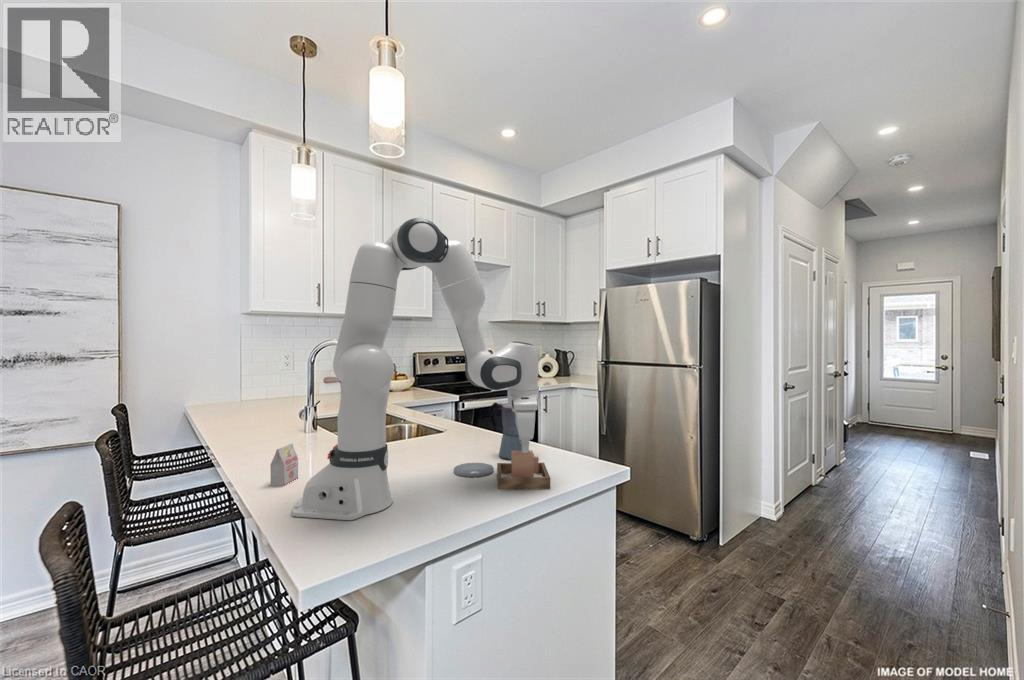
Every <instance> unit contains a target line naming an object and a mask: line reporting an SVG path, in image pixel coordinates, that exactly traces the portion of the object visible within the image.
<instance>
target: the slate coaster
mask: <svg viewBox="0 0 1024 680" xmlns="http://www.w3.org/2000/svg"><path fill="white" fill-rule="evenodd" d="M494 470H495V468H494V466H493V465H492V464H489V463H485V462H467V463H460V464H459V465H456V466H454V467H453V474H454V475H456V476H458V477H460V478H461V477H462V478H467V477H470V478H471V479H472V478H473V479H475V478H474V477H477V478H484V477H487V475H488V476H490V475H492V474H493V473H494V472H495V471H494ZM483 476H484V477H483Z"/></svg>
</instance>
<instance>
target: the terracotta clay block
mask: <svg viewBox="0 0 1024 680" xmlns="http://www.w3.org/2000/svg"><path fill="white" fill-rule="evenodd" d="M510 461H511V462H510V463H511V474H510V475H511V476H510V477H535V476H534V473H538V463H539V456H535V454H534V452H533V450H532V449H531V450H530V449H529V452H528V453H522V451H511V460H510Z"/></svg>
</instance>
